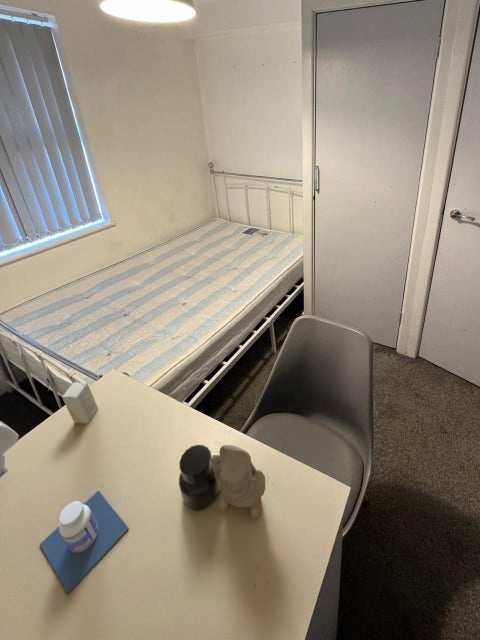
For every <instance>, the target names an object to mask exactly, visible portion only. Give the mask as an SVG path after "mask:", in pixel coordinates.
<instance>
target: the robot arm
mask: <svg viewBox="0 0 480 640" xmlns="http://www.w3.org/2000/svg"><path fill="white" fill-rule="evenodd" d="M19 436H20V435H19V433H17V432H16V431H15V430H14V429H12V428H11V427H10V426H9V425H7V424H5V422H3V421H1V420H0V479H1V478H2V477H3V476H4V475H6V473H7V472H9V469H8V468H6V467H5V463H6V456H5V455H4V454H6V452H7V451H9V450H10V449H11V448H12V447H13V446H14V445H15V444H17V443H18V441H19Z"/></svg>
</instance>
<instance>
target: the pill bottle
mask: <svg viewBox="0 0 480 640" xmlns="http://www.w3.org/2000/svg"><path fill="white" fill-rule="evenodd" d="M58 521H59V526H58V527H59V532H60V534H61V536H62V537H63V539H64V540H65V542H66V544H67V545H68V547H69V548H70V550H71V551H73V552H81V551H84V550H85V549H87V548H88V547H89V546H90V545H91V544H92V543H93V541H94V540H95V538H96V536H97V534H98V524H97V522H96V520H95V518H94V516H93V514H92V512H91V510H90V508H89V507H88V506H87V505H84V503H82V502H81V501H78V500H77V501H71V502H70V503H68V504H67V505H66V506H65V507H63V509H62V511H61V512H60V514H59V517H58Z"/></svg>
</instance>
